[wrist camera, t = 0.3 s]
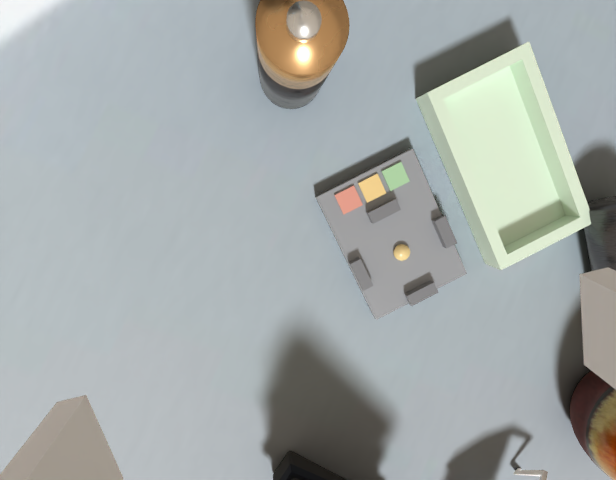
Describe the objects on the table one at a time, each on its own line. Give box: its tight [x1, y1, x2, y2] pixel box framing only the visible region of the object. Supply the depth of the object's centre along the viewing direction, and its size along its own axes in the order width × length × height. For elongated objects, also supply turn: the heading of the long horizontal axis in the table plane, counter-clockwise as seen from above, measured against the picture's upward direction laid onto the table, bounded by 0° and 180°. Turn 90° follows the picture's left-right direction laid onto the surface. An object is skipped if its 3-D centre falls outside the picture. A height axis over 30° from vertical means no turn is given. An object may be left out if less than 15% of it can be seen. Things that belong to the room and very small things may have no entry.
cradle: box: [316, 149, 467, 320], centre depth 36 cm, size 12×9×2 cm
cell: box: [256, 0, 349, 109], centre depth 28 cm, size 5×5×13 cm
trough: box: [416, 42, 591, 270], centre depth 35 cm, size 16×9×3 cm, turn 26°
